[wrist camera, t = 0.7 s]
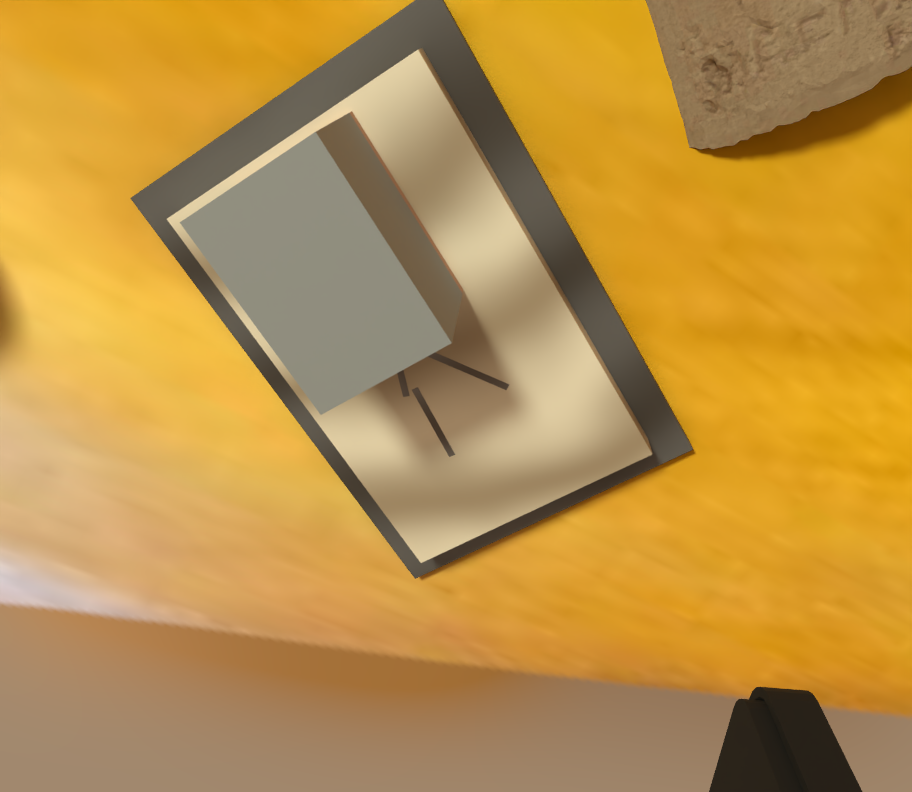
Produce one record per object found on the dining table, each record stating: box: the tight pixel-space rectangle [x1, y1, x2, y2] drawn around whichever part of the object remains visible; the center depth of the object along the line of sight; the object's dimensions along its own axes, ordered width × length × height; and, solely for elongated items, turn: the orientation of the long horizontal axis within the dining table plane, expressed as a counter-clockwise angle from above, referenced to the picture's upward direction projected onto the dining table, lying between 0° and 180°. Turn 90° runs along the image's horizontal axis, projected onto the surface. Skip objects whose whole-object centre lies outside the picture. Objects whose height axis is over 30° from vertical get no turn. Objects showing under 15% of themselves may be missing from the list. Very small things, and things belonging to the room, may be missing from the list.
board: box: [131, 0, 693, 578], centre depth 35 cm, size 22×15×2 cm
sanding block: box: [180, 111, 463, 415], centre depth 30 cm, size 8×6×6 cm
